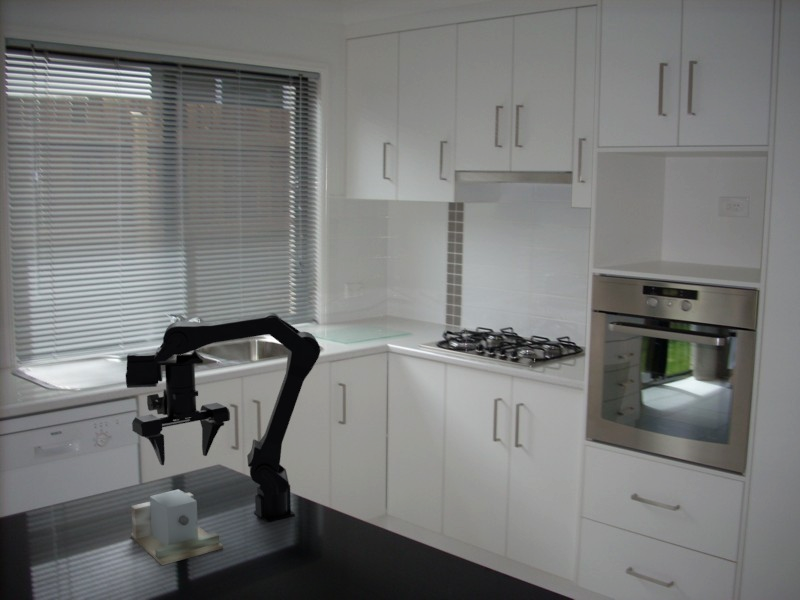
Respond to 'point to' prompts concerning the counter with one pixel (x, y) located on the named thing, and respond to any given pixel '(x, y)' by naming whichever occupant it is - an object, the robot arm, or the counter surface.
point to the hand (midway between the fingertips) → (183, 460)
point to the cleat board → (173, 551)
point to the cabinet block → (173, 517)
